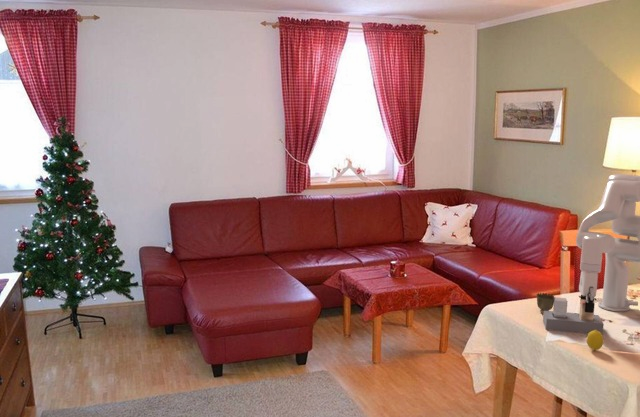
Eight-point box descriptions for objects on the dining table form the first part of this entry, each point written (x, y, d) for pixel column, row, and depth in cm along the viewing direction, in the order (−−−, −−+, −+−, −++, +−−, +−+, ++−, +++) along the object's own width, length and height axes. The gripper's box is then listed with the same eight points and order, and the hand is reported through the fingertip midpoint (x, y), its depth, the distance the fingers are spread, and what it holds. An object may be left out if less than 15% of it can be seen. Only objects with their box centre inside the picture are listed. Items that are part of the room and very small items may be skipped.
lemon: (594, 354, 212) (596, 333, 211) (582, 348, 217) (584, 328, 216) (605, 352, 214) (607, 331, 213) (593, 346, 219) (595, 326, 218)
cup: (555, 316, 251) (556, 298, 250) (537, 315, 252) (538, 297, 251) (551, 310, 258) (553, 293, 257) (534, 309, 260) (535, 292, 258)
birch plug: (590, 327, 237) (592, 300, 235) (592, 331, 233) (594, 303, 231) (578, 326, 238) (580, 299, 236) (580, 330, 234) (582, 302, 232)
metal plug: (563, 325, 240) (565, 298, 238) (565, 328, 236) (567, 301, 234) (552, 323, 241) (554, 297, 239) (553, 327, 237) (555, 300, 235)
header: (597, 326, 239) (598, 315, 238) (602, 336, 230) (603, 323, 229) (542, 321, 244) (543, 310, 243) (545, 330, 235) (546, 318, 234)
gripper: (576, 261, 240) (572, 301, 243) (584, 271, 224) (580, 314, 227) (596, 262, 239) (592, 302, 241) (605, 273, 222) (601, 316, 225)
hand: (586, 308), depth 234 cm, fingers open, 9 cm apart
